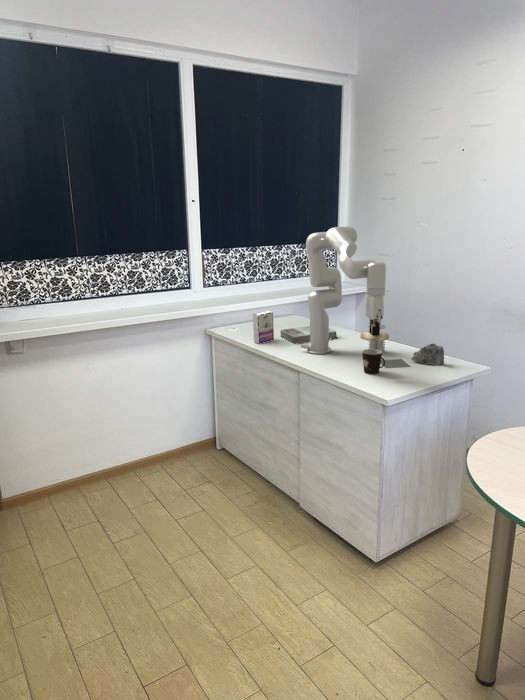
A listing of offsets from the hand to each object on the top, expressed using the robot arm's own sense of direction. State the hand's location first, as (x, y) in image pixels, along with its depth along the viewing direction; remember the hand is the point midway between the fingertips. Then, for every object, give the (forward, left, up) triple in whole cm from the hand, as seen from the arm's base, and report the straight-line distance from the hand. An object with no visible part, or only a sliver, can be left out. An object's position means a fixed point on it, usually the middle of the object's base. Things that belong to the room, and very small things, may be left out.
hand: (374, 333), depth 217 cm
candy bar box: (-41, +66, -19) cm, 80 cm away
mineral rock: (+30, +11, -19) cm, 37 cm away
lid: (0, 0, -2) cm, 2 cm away
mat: (+14, +12, -19) cm, 26 cm away
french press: (+12, +31, -19) cm, 38 cm away
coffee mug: (0, +1, -19) cm, 19 cm away
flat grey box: (-15, +70, -19) cm, 74 cm away
